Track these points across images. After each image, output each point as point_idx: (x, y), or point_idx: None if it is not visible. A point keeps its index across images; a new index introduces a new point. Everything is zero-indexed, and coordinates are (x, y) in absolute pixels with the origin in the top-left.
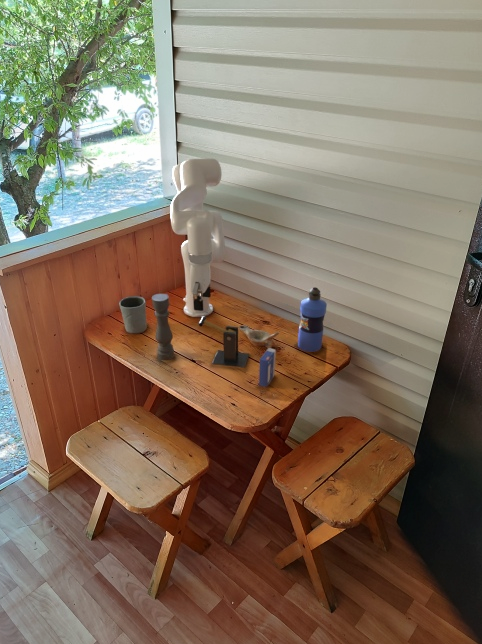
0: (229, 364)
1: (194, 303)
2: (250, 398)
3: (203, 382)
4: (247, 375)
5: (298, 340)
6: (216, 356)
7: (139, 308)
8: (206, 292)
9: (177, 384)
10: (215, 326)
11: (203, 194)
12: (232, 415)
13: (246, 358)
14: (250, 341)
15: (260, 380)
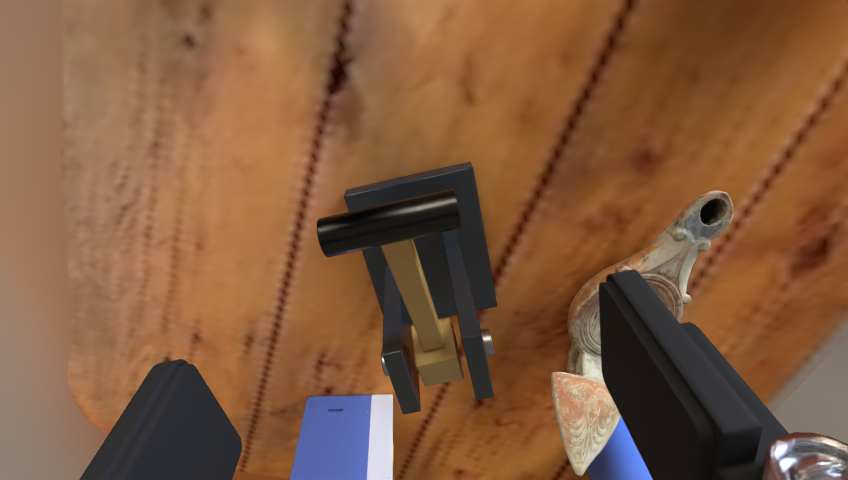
0: (376, 269)
1: (100, 473)
2: (235, 395)
3: (207, 212)
4: (357, 340)
5: (624, 447)
6: (411, 187)
7: None
8: (635, 410)
9: (105, 104)
10: (411, 304)
11: None
12: (113, 383)
13: (453, 311)
14: (583, 289)
15: (301, 429)
